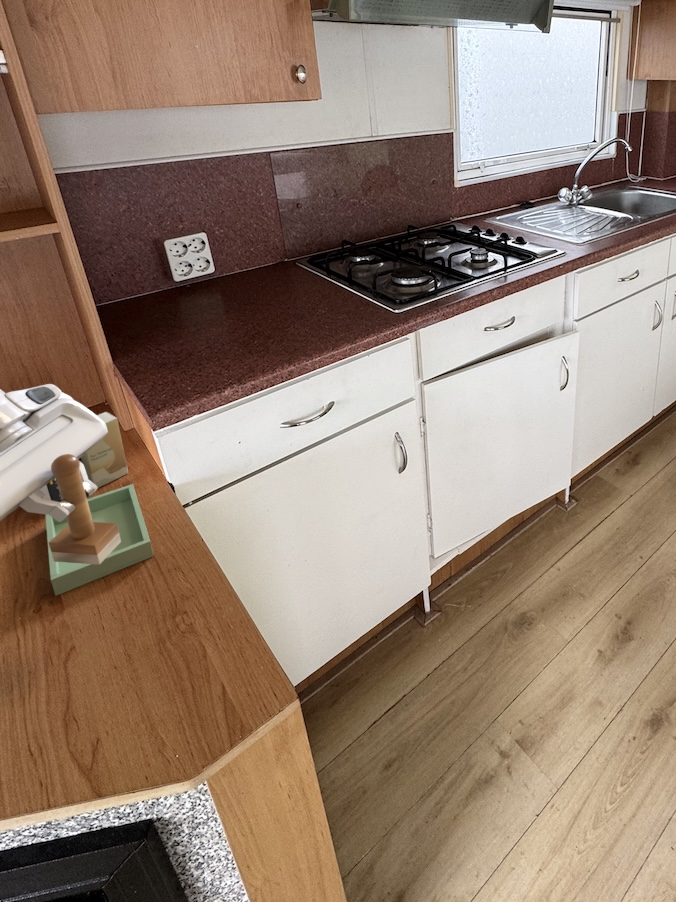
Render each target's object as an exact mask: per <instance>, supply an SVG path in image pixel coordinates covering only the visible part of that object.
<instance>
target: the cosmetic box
mask: <svg viewBox="0 0 676 902" xmlns="http://www.w3.org/2000/svg"><path fill="white" fill-rule="evenodd" d="M96 415H97V416H98V417H99V418H100V419H102V420H103V421H104V422H105V423H106V426H107V430H108V433H107V434H106V436H105V437H104V438H103V439H102V440H101V441H100V442H99V443H98V444H97V445H96V446H95V447H93V448H92V449H91V450H89V451H88V452H87V453H86V454H84V455H83V456H82V457H81V460H82V464H84V467H85V470H86V473H87V476H88V479H89V480H90V481H91V482H93V483H94V484H95V485H96V486H97V487H98V489H99V488H101V487H103V486H106V485H108V484H109V483H111V482H113V481H116V480H117V479H120V478H121V477H124V476H125V475H128V474H129V469H128V464H127V459H126V454H125V449H124V445H123V439H122V435H121V431H120V426H119V425H120V424H119V420H118V417H117V416H115V415H113V414H111V413H110V412H108V411H104V412H102V413H99V414H96Z"/></svg>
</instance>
